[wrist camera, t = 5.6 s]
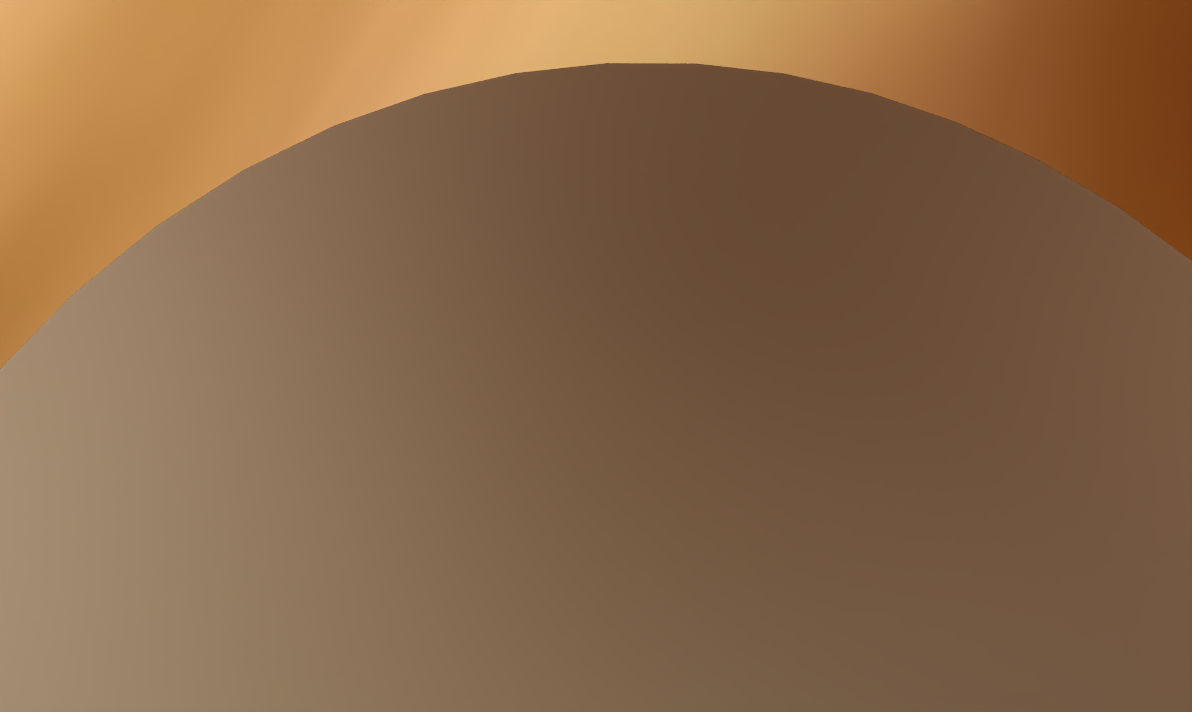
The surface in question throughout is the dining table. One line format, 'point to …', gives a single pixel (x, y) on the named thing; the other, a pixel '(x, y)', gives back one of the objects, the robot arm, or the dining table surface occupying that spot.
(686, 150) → the bobbin
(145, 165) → the dining table surface
